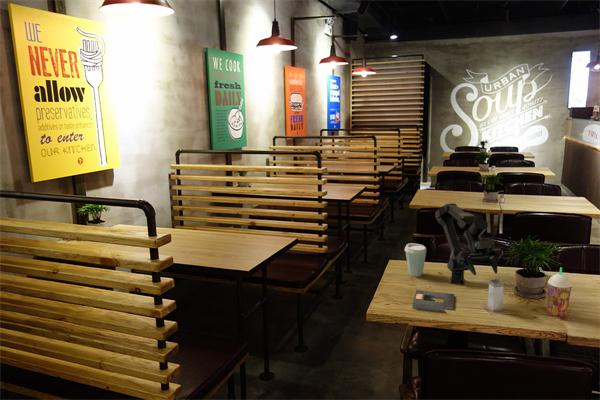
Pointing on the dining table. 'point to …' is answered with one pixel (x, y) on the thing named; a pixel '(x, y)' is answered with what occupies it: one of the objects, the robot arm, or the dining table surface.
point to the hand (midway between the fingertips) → (485, 274)
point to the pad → (494, 312)
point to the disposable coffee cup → (415, 258)
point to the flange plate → (432, 301)
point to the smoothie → (558, 294)
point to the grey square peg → (495, 295)
